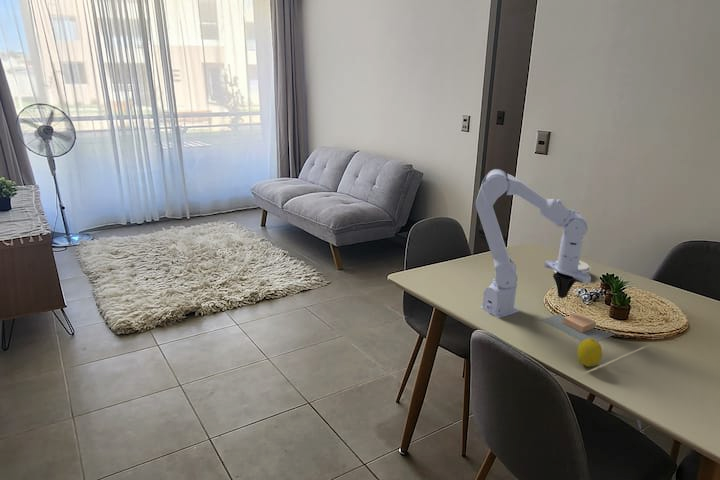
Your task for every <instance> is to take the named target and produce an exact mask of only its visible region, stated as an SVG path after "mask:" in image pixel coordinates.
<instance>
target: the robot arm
mask: <svg viewBox="0 0 720 480" xmlns="http://www.w3.org/2000/svg"><path fill="white" fill-rule="evenodd" d="M479 187H480V188H479V190H478V195H477V197H476V200H475V209H476V211H477V214H478V217H479V220H480V223H481V226H482V229H483V232H484V235H485V239H486V242H487V244H488V247H489V251H490V254H491V257H492V259H493V261H492V262H493V265H494V270H495V277H494V278H493V279H492V283H491V284H490V285H489V286H487V287H486V288H485V289H484V291H483V298H482V305H481V306H480V309H482V310H483V311H485V312H487V313H489V314H491V315H492V316H494V317H495V318H498V319H499V318H500V319H501V318H503V317H505V316H510V315H513V314H516V313H519V312H520V311H521V310H520V309H518V308H517V307H515V304H516V295H517V288H518V287H517V286H518V283H517V282H518V275H517V265H516V263H515V262H514V261H513V260H512V258H511V257H510V254H509V252H508V250H507V246H506V243H505V240H504V238H503V234H502V231H501V228H500V224H499V222H498V218H497V216H496V213H495V210H494V205H495V203H496V202H497V200H498V198H500V197H501V196H503V194H505V193H506V196H513V195H514V196H515V195H517V196H518V197H520V198H521V199H523V200H525V201H526V202H528V203H530V204H531V205H533V206H535V207H537V208H538V209H539V212H540V216H542V217H543V218H545V219H547V220H548V221H549V222H551V223H552V224H554V225H556V226H557V227H559V228H563V231H562V236H561V239H560V246H559V251H558V255H557V256H558V257H557V260H558V262H555V261H553V260H550V259H549V260H545V261H544V264H543V267H544V268H546V269H550V270H552V271H553V270H555V271H557V273H554V274H552V275H553V276H552V277H553V279H554V281H555V285H556V289H557V295H558V296H557V297H558V298H561V299H564V298H567V296H568V294H569V292H570V290H571V288H572V287H573V285H574V284H575V283H576V282H577V281H579V282H582V283H583V284H585V285H587V284H590V283H591V279H592V276H591V275H590V276H588V275H586V274H585V273H583V272H582V271H580V270H578V265H579V261H581V259H580V257H581V254H582V248H583V243H584V241H583V239H584V236H585V235H586V234H587V232H588V229H589V228H588V223H587V222H586V220H585V218H584V217H583V215H581V214H580V213H579V212H577V211H576V210H575V209H570V208H569V207H567V206H566V205H565V204H563V201H562V200H561V199H559V198H557V199H555V198H545V197H544V196H542V195H541V194H540V193H538V192H537V191H535V190H534V189H533V188H531V187H530V186H529V185H528V184H526V183H524V182H523V181H522V180H520V179H518V178H516V177H515V176H513V175H511V174H509V173H506V172H505V171H504V170H502V169H499V168H494V169H492V170H490V171H489V172H488V173H486V175H485V176H484V178H483V179H482V181H481V185H480V186H479Z"/></svg>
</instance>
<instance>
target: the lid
mask: <svg viewBox="0 0 720 480" xmlns="http://www.w3.org/2000/svg"><path fill="white" fill-rule="evenodd" d="M554 262H558V259H557V260H555V261H554ZM578 270H580V271H582V272H583V273H585V274H586V275H588V276H591V273H590V272H591V266H590V265H589V264H588V263H587V262H584V261H583V260H579V265H578ZM552 271H553V272H554V274H556V273H557V271H555V270H553V269H552Z"/></svg>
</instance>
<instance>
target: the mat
mask: <svg viewBox="0 0 720 480" xmlns="http://www.w3.org/2000/svg"><path fill="white" fill-rule="evenodd" d="M563 317H564V316H562V315H561V314H560V313H558V314H555V315H551V316H549V317H546V318H542V319H541V321H542V322H544V323H546V324H548V325H550V326H551V327H553V328H555V329H557V330H559V331H561V332H563V333H564V334H566V335H568V336H570V337H572V338H574V339H577V340H578V341H580V342H582V341H583V340H585V339H591V338H592V339H594V340H596V341H597V342H598V343H599V342H600V341H602V340H605V339H607V338H609V337H612V336H614V335H616V333H614V334H612V333H613V332H612V333H608V332H605V331H602V330H598V329H594V328H593V329H590V330H588V331H585V332H580V331H578V330H576V329H574V328H572V327H570V326H568V325H566V324H564V323H563Z"/></svg>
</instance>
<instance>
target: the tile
mask: <svg viewBox="0 0 720 480" xmlns="http://www.w3.org/2000/svg"><path fill="white" fill-rule="evenodd" d="M563 323H564V324H566V325H568V326H570V327H572V328H574V329H576V330H578V331H580V332H585V331H588V330H590V329H593V328H595V326H596V325H597V321H595V320H593V319H592V318H588V317H586V316H584V315H583V314H580V313H579V312H575V313H573V314H572V315H569V316H566V317H563Z"/></svg>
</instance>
